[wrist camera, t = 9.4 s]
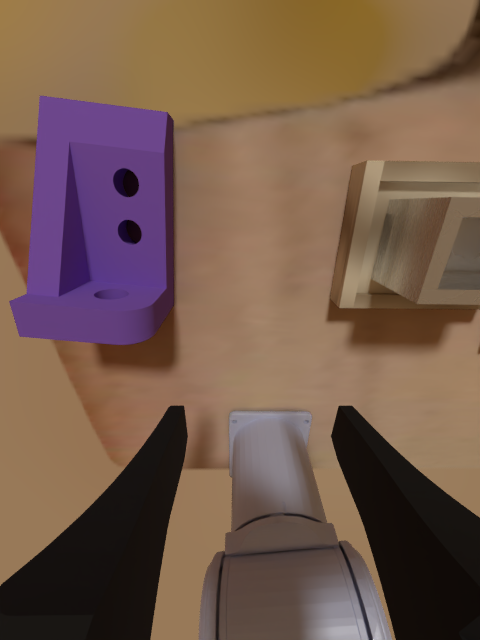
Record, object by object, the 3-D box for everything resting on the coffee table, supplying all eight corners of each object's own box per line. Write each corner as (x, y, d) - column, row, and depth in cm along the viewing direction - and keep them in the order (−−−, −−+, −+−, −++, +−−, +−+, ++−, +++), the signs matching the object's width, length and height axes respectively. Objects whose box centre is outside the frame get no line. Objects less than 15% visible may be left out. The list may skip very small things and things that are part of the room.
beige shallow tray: (480, 300, 20) (504, 309, 18) (329, 298, 20) (339, 307, 18) (537, 168, 16) (575, 163, 14) (352, 165, 16) (367, 160, 14)
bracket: (174, 303, 20) (146, 347, 14) (87, 295, 20) (19, 336, 14) (174, 120, 15) (129, 63, 9) (58, 105, 15) (-70, 35, 9)
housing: (483, 279, 18) (568, 305, 13) (370, 278, 18) (416, 304, 13) (517, 201, 16) (631, 199, 11) (389, 199, 16) (451, 196, 11)
